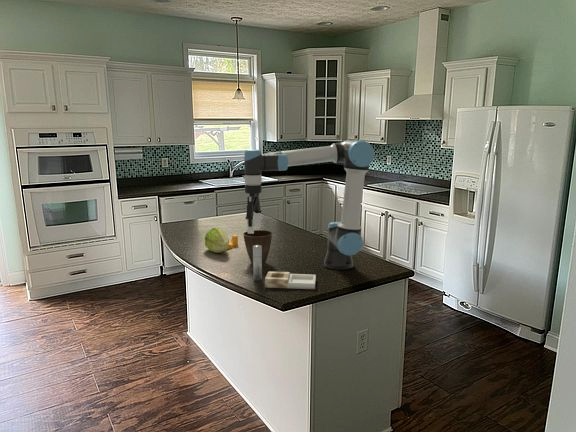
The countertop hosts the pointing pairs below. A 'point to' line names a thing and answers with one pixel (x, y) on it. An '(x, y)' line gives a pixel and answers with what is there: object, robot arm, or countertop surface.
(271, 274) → the beige square frame
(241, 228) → the countertop surface
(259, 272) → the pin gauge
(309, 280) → the tray
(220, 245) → the lettuce
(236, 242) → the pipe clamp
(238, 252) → the countertop surface
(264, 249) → the plant pot
